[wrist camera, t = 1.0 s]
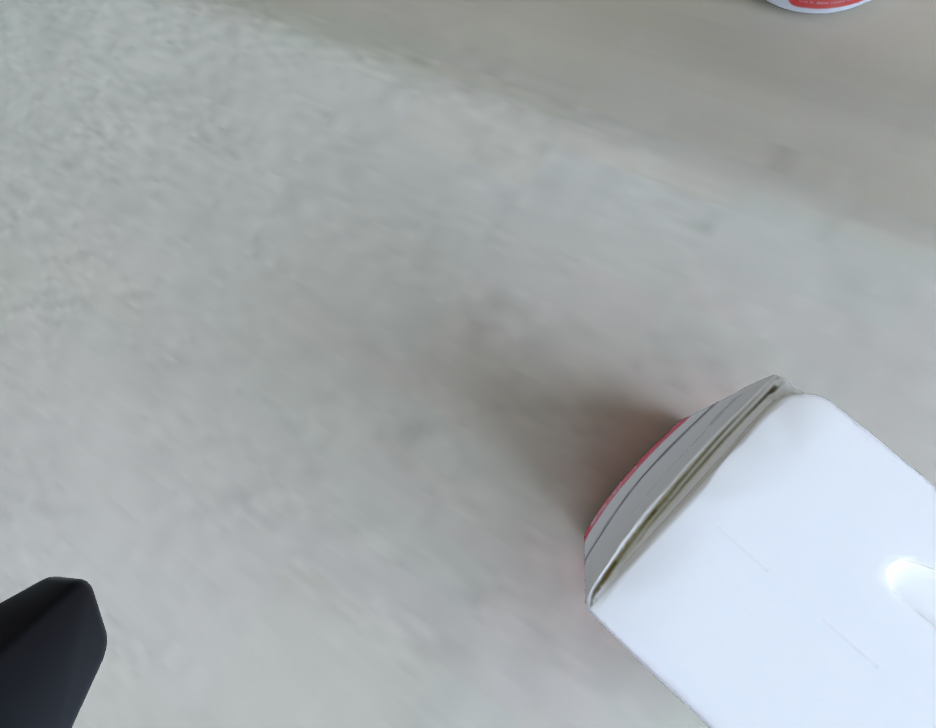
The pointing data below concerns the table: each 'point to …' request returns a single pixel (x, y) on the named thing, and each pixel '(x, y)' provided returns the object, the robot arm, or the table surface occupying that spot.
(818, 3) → the pill bottle
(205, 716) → the table surface
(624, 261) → the table surface
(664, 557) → the ink box
